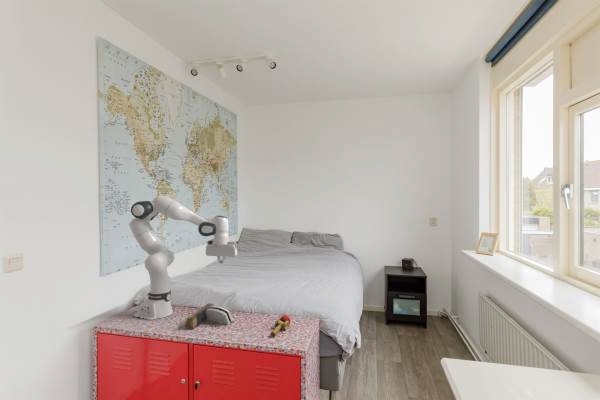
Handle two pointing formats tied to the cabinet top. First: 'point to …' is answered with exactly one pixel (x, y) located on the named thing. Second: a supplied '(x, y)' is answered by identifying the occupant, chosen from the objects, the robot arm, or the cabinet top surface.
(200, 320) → the mounting plate
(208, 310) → the grey rounded case
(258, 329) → the cabinet top surface
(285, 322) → the kendama
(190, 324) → the frame block
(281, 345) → the cabinet top surface
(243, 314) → the cabinet top surface
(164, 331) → the cabinet top surface
